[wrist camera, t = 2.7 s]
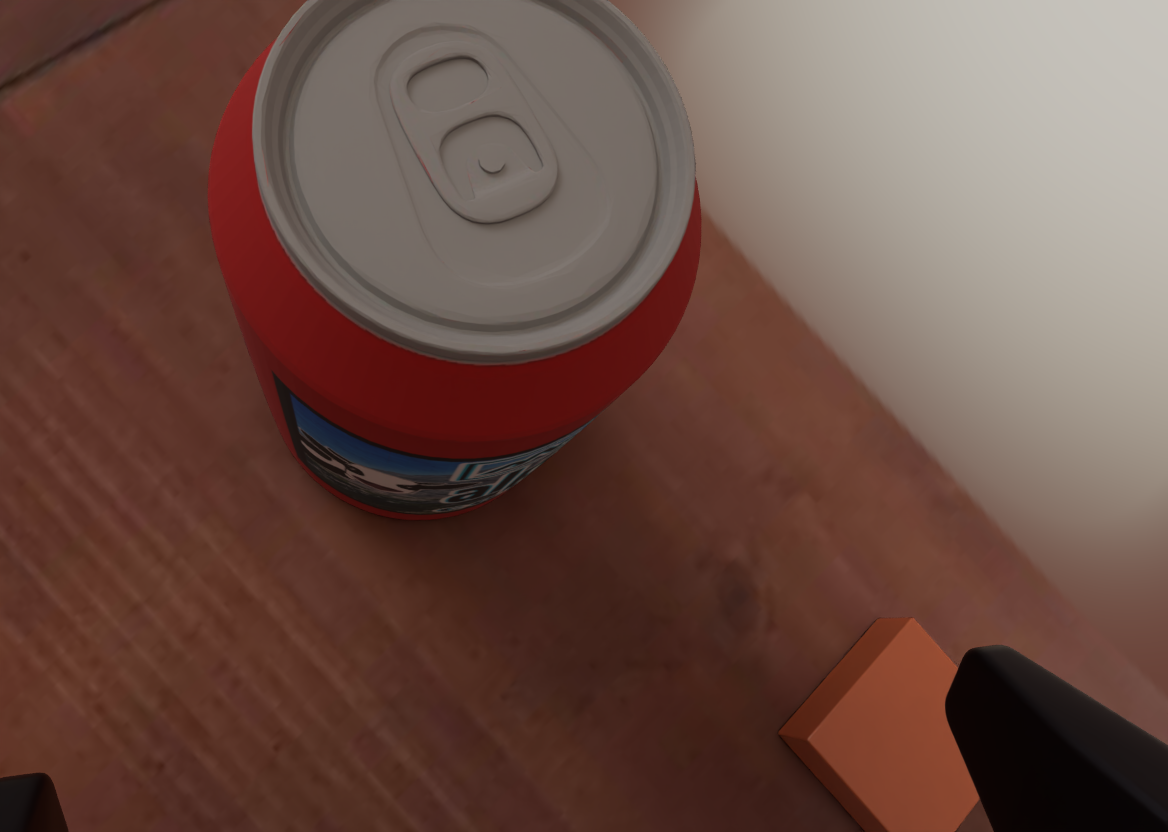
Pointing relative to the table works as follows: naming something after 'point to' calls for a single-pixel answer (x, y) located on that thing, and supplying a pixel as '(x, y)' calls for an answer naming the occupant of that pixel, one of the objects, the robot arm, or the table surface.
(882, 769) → the terracotta tile
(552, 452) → the beverage can
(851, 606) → the table surface
